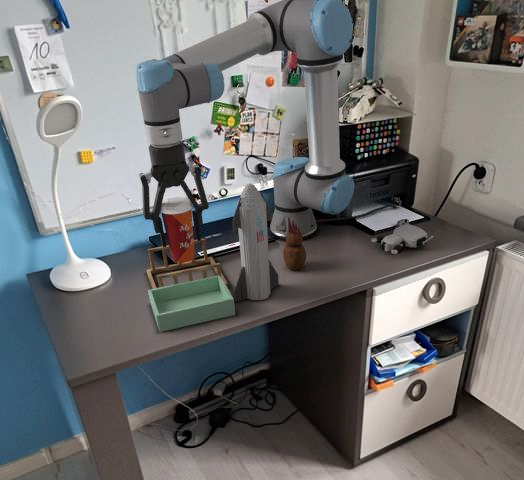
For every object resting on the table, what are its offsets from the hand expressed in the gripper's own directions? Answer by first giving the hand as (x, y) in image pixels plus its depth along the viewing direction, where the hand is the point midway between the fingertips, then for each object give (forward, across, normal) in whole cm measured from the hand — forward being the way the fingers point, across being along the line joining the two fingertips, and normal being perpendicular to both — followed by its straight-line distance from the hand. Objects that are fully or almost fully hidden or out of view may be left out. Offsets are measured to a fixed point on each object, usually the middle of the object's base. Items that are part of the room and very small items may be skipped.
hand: (181, 241), depth 126 cm
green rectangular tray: (+19, 0, 0) cm, 19 cm away
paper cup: (+4, 0, 0) cm, 4 cm away
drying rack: (+19, +2, +16) cm, 25 cm away
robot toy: (+19, +67, +9) cm, 71 cm away
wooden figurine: (+19, +33, +10) cm, 40 cm away
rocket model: (+20, +18, +1) cm, 27 cm away
